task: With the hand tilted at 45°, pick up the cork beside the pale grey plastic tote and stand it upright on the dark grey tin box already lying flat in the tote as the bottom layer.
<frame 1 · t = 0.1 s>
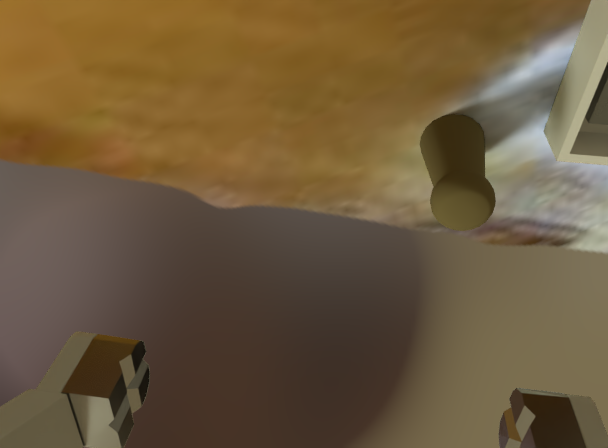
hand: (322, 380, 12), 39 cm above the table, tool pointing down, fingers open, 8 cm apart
cork: (451, 141, 52), on the table
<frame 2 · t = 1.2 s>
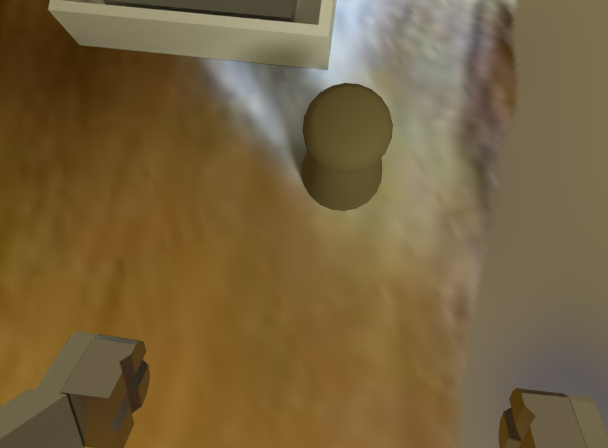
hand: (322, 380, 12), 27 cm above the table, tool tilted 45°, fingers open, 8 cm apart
cork: (341, 172, 40), on the table
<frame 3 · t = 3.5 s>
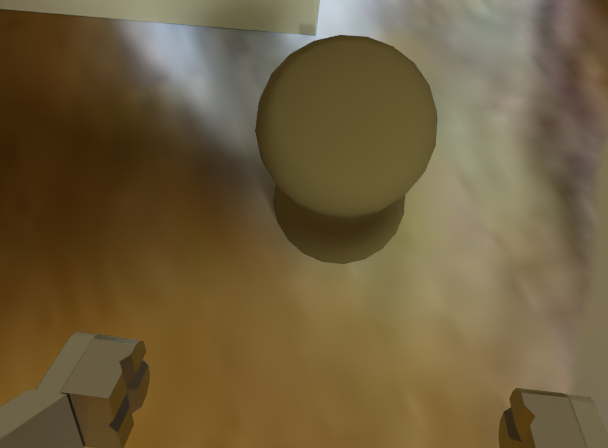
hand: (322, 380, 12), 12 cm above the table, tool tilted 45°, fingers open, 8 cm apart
cork: (339, 199, 25), on the table
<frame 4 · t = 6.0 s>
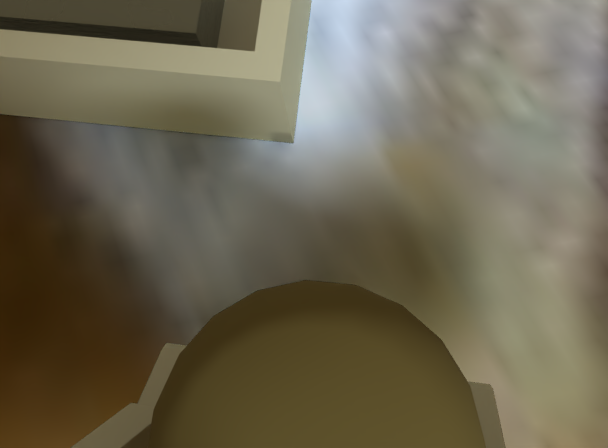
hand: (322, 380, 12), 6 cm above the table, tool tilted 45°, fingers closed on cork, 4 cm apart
cork: (323, 379, 18), on the table, touching gripper
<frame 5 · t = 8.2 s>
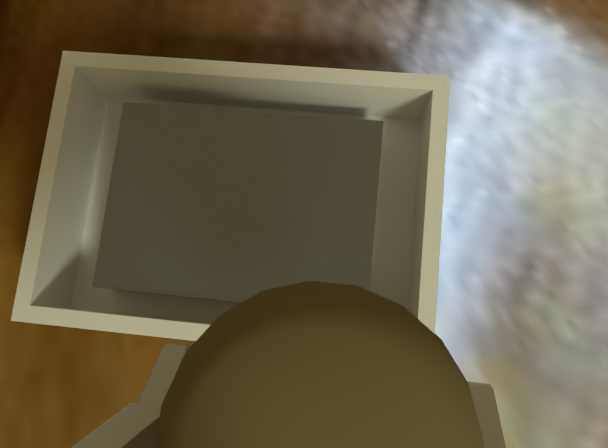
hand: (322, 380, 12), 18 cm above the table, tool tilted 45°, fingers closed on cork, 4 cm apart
tin box: (247, 212, 30), point 1 cm above the table, touching tote
tote: (250, 216, 31), on the table
cork: (324, 378, 18), point 11 cm above the table, touching gripper
when the fingers open (11 cm above the table, at t = 10.6 s): cork drops 1 cm, resting on tin box.
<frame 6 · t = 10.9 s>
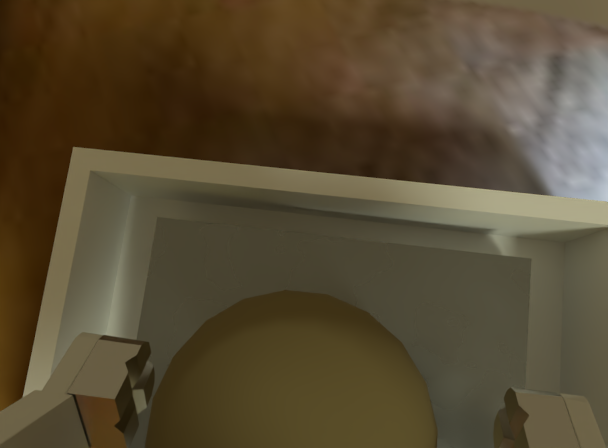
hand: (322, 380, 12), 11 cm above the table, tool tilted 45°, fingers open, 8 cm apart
tin box: (325, 368, 21), point 1 cm above the table, touching cork, tote
tote: (325, 366, 22), on the table
cork: (318, 389, 19), point 3 cm above the table, touching tin box
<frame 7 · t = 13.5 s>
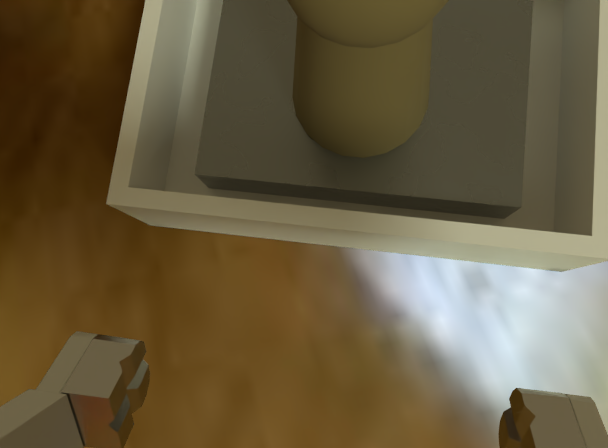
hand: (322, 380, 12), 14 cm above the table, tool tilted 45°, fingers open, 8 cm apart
tin box: (363, 103, 26), point 1 cm above the table, touching cork, tote
tote: (363, 111, 27), on the table
cork: (360, 94, 24), point 3 cm above the table, touching tin box
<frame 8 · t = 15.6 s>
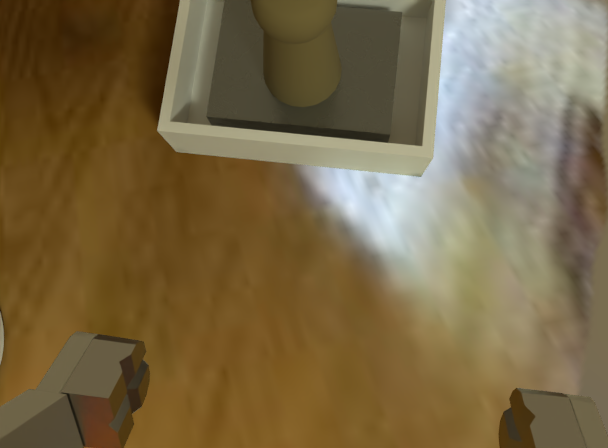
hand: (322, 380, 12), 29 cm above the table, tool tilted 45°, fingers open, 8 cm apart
tin box: (306, 78, 43), point 1 cm above the table, touching cork, tote
tote: (307, 83, 44), on the table
cork: (302, 71, 41), point 3 cm above the table, touching tin box
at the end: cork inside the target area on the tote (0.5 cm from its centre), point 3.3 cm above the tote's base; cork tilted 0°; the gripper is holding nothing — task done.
